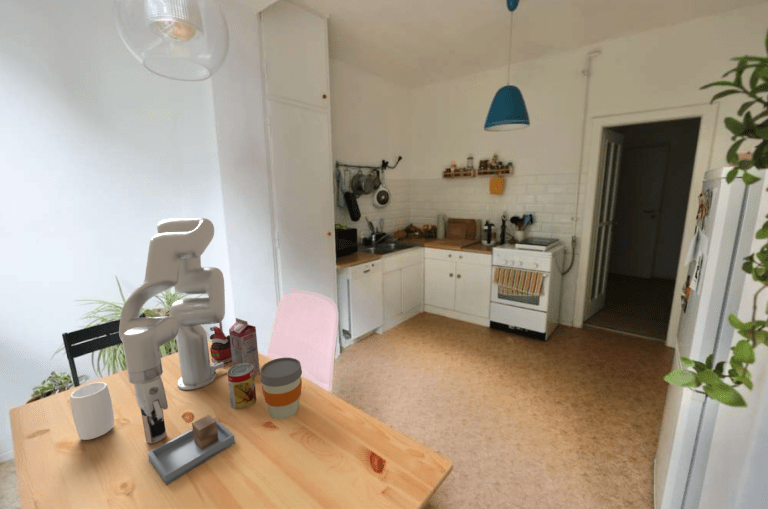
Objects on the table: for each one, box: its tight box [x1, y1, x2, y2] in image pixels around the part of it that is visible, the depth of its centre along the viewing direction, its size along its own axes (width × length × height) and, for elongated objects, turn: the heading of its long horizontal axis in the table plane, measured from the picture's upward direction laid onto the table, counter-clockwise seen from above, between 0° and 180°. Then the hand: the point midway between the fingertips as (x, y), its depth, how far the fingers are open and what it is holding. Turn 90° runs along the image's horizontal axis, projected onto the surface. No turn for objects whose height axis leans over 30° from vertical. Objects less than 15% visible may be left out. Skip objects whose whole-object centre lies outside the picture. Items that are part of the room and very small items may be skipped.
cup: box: [69, 381, 115, 441], centre depth 95 cm, size 8×8×14 cm
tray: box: [147, 417, 236, 486], centre depth 89 cm, size 17×12×2 cm
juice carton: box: [228, 317, 261, 376], centre depth 126 cm, size 7×7×22 cm
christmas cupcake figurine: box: [209, 320, 232, 364], centre depth 137 cm, size 11×9×18 cm
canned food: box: [226, 363, 257, 411], centre depth 109 cm, size 8×8×12 cm
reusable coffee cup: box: [259, 357, 303, 420], centre depth 105 cm, size 12×13×15 cm
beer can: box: [139, 406, 167, 444], centre depth 93 cm, size 5×5×12 cm
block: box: [191, 414, 218, 450], centre depth 91 cm, size 4×4×6 cm
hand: (155, 429), depth 94 cm, fingers closed on beer can, 4 cm apart
